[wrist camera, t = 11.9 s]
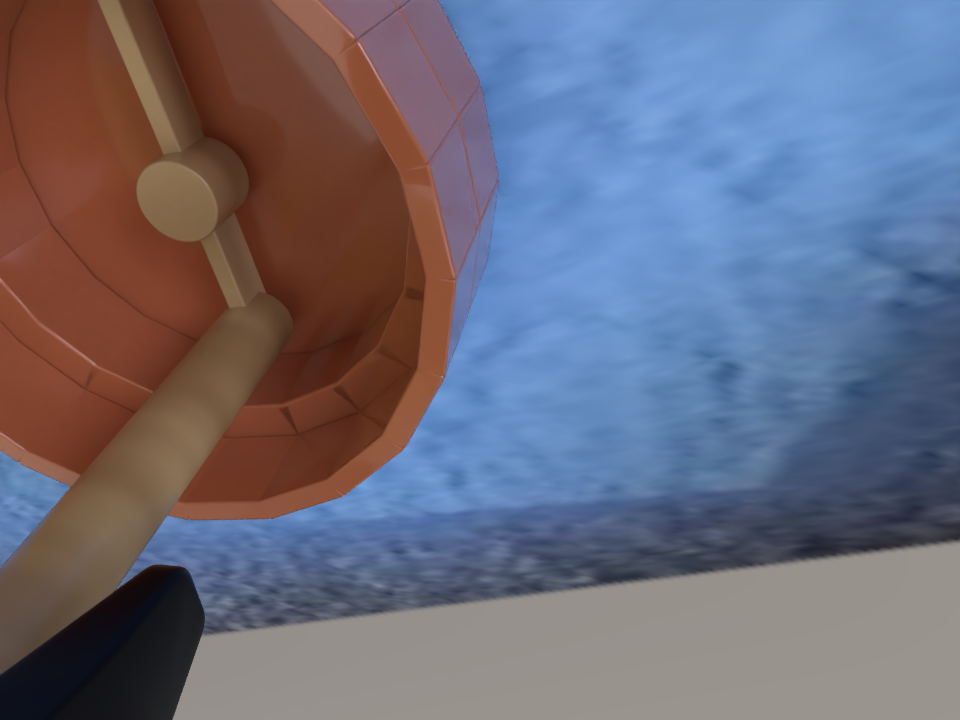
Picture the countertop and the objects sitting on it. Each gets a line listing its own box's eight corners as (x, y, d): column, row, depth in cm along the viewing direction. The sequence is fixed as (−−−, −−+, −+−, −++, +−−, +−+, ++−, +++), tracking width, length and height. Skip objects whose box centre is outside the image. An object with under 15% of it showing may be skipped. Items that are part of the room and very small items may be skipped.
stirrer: (92, -17, 18) (-1265, 375, 5) (170, -35, 17) (-1126, 349, 5) (246, 344, 23) (-254, 991, 10) (310, 338, 22) (-134, 1013, 10)
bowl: (608, 31, 17) (593, 114, 13) (384, 449, 25) (321, 598, 21) (-12, -309, 16) (-305, -368, 11) (-42, 249, 24) (-219, 359, 19)
